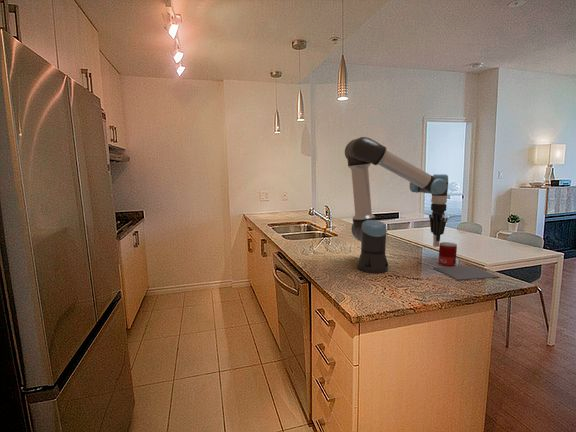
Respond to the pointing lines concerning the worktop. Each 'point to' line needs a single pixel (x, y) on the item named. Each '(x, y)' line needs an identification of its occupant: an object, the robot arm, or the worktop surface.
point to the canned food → (447, 254)
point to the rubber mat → (465, 272)
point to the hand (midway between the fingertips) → (436, 246)
